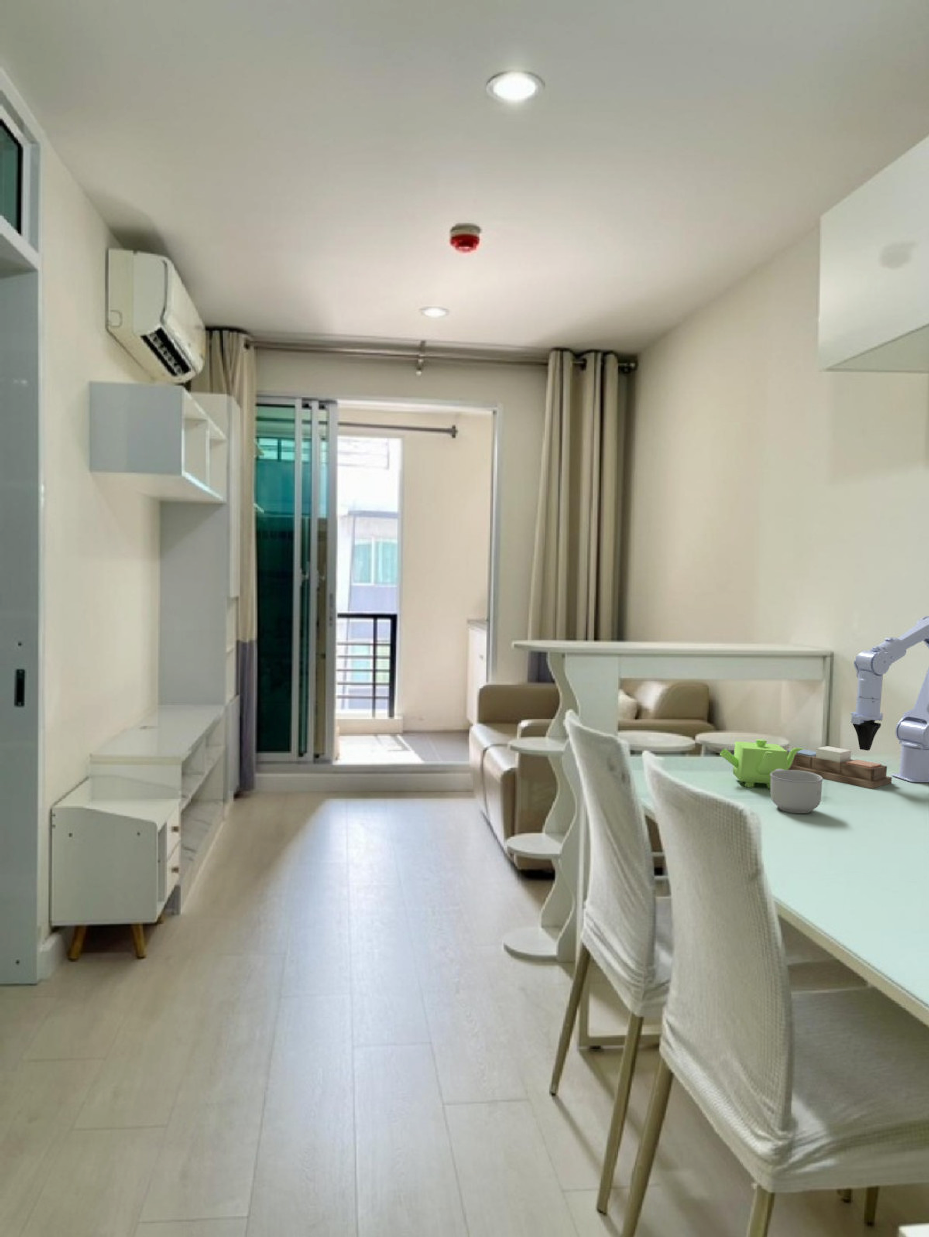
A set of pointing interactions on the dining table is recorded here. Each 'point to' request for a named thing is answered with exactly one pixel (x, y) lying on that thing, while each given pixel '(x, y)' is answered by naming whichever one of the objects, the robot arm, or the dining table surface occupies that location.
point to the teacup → (796, 790)
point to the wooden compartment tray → (842, 771)
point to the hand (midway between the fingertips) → (864, 749)
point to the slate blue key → (805, 752)
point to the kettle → (758, 761)
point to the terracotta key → (864, 764)
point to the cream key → (833, 754)
